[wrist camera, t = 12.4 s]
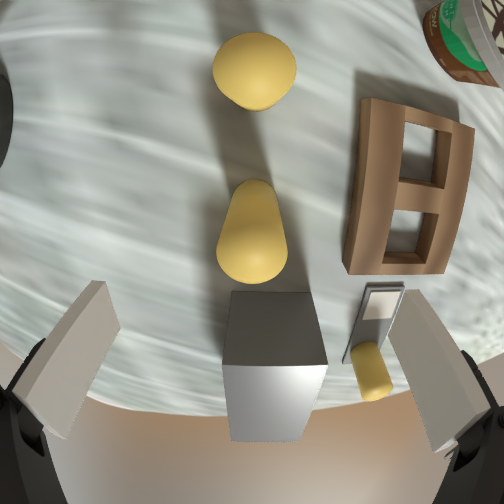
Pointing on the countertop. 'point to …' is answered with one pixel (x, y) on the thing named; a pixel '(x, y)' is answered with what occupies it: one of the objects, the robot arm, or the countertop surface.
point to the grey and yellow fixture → (373, 340)
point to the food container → (468, 40)
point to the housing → (272, 365)
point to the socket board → (405, 191)
